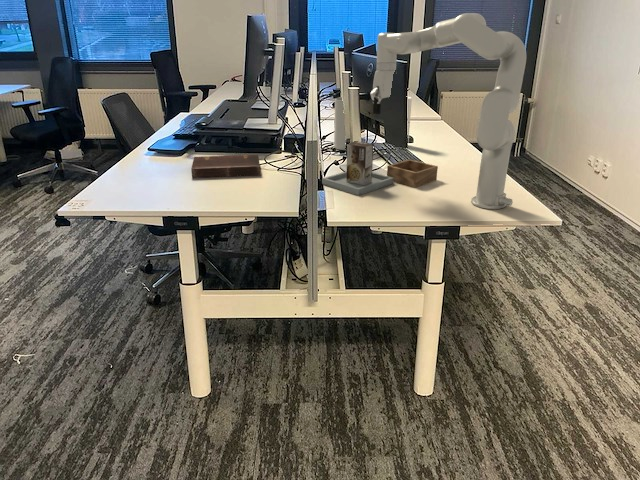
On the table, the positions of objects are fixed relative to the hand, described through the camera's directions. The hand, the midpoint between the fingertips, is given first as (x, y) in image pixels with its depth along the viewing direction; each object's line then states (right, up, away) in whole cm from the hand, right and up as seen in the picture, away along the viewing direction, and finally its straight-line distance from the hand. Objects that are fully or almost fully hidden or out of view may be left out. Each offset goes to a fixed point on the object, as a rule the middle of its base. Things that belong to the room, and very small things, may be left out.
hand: (384, 112), depth 208 cm
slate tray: (-10, -28, +9) cm, 31 cm away
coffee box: (-10, -27, +9) cm, 30 cm away
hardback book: (-67, -21, +25) cm, 75 cm away
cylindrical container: (+18, -1, +70) cm, 72 cm away
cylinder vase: (-12, -3, +65) cm, 66 cm away
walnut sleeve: (+13, -25, +15) cm, 32 cm away
